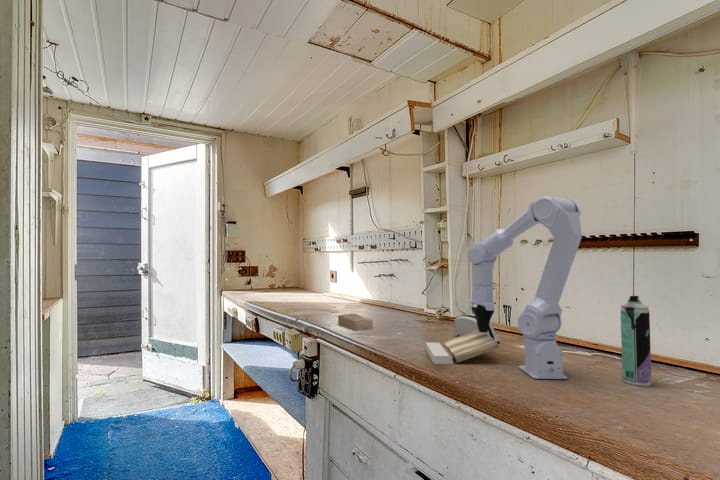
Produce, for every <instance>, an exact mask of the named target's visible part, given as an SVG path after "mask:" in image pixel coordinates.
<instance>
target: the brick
mask: <svg viewBox="0 0 720 480" xmlns="http://www.w3.org/2000/svg"><path fill="white" fill-rule="evenodd" d="M337 322H338V326H340V327H343V328H346V329H350V330H352V331H356V332H360V331H371V330H373V329H374V324H373V319H371V318H367V317H363V316H362V315H360V314H357V313H344V314H338V316H337Z"/></svg>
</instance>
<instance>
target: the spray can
mask: <svg viewBox="0 0 720 480" xmlns="http://www.w3.org/2000/svg"><path fill="white" fill-rule="evenodd" d="M650 322H651V321H650V310H649V306H647V305H645V304H644V303H643V301H641V300H640V298H639V295H630V296H629V298H628V300H627V301H626V302H624V304H621V305H620V332H621V333H620V335H621V337H620V338H621V339H620V340H621V341H620V342H621V366H622V368H621V369H622V371H621V372H622V373H621V375H622V382H624V383H626V384H628V385H630V386H631V385H632V386H637V387H650V386H652V383H653V382H652V381H653V380H652V358H651V357H652V355H651V325H650Z"/></svg>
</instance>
